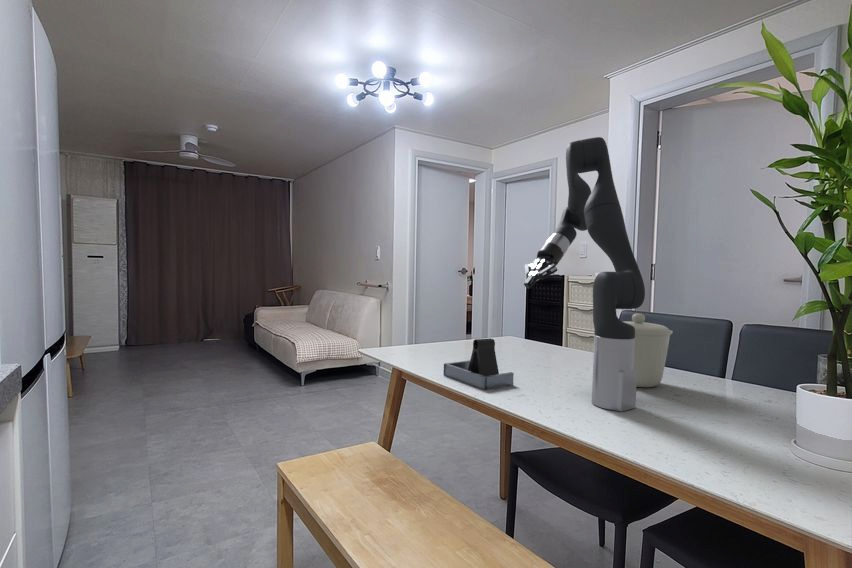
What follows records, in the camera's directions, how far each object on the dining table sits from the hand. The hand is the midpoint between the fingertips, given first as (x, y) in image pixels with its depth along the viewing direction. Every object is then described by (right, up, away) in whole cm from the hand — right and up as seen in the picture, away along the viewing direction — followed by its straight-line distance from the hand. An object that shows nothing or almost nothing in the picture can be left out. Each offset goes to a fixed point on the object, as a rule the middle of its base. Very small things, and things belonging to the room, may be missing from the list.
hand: (526, 286), depth 139 cm
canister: (+30, -29, -9) cm, 43 cm away
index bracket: (-17, -28, -10) cm, 34 cm away
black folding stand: (-15, -28, -8) cm, 33 cm away
